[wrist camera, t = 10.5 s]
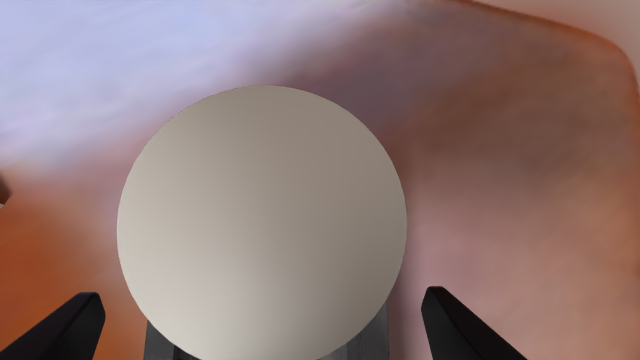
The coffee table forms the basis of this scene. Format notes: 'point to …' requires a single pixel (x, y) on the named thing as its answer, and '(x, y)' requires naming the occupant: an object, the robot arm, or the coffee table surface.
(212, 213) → the post
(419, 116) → the coffee table surface
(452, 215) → the coffee table surface
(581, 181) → the coffee table surface
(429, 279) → the coffee table surface
